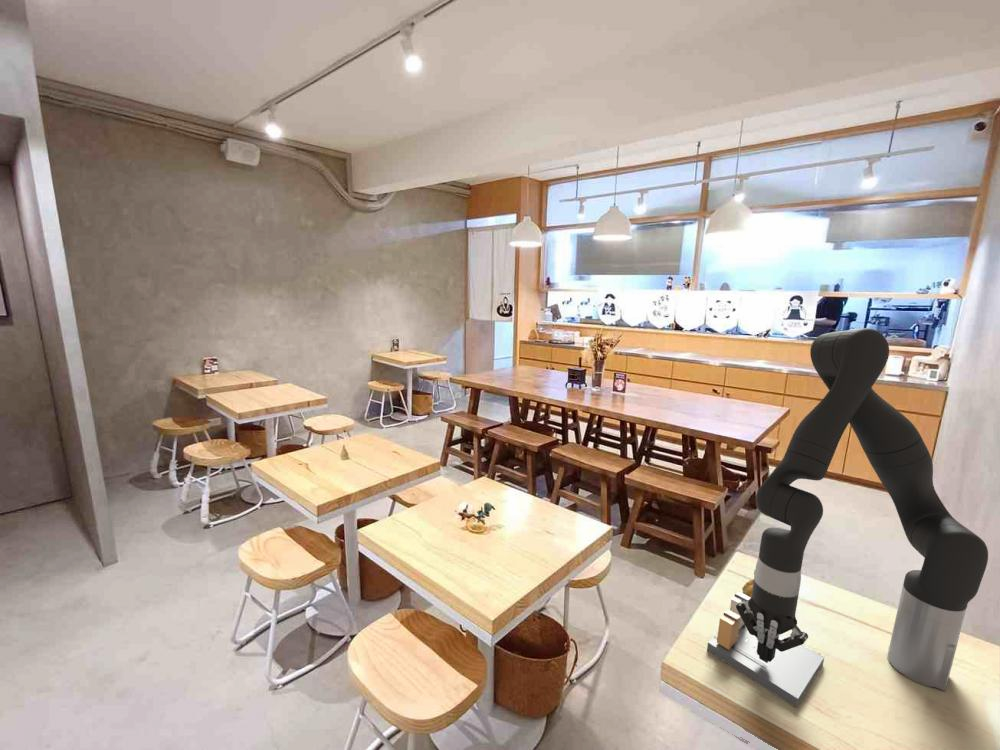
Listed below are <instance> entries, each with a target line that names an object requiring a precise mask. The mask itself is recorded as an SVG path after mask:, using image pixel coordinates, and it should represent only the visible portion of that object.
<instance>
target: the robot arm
mask: <svg viewBox="0 0 1000 750" xmlns="http://www.w3.org/2000/svg"><path fill="white" fill-rule="evenodd" d="M809 353H810V360H811V364H812V366H813V368H814V370H815V371H816V373H817V374H818V376H819V377H820V379H821V380H822V382H823V384H824V385H825V386H826V387H827V389H828V392H827V393H826V394H825V396H824V397H823V398H822V399H821V400H820V401H819V402H818V404H817V405H815V406H814V408H812V410H811V411H809V413H807V415H805V416H804V418H803V419H802V420H801V421H800V422H799V424H798V425H797V427H796V428H795V431H794V433H792V436H791V438H790V440H789V443H788V446H787V449H786V451H785V453H784V456H783V458H782V459H781V460H780V462H779V463H778V464H777V466H776V467H775V468H774V469H773V471H772V472H771V473H770V474H769V476H768V477H766V479H765V480H764V481H763V482H762V484H761V485H760V486H759V488H758V489H757V491H756V495H755V504H756V505H755V506H756V507H757V510H758V511H759V512H760V513H761V514H763V515H765V516H767V517H769V518H771V519H774V520H776V521H778V522H780V523H783V524H785V525H788V526H790V529H786V528H780V527H767V528H766V529H764V530H763V531H762V534H761V539H760V546H759V552H758V558H757V561H756V562H755V563H756V564H755V569H754V572H753V575H754V577H753V579H754V582H753V589H752V597H751V598H750V599H749V600H748V601H747V602H746V601H744V600H742V601H740V602H739V603H738V604H737V605H736V609H737V610H738V612H739V614H740V616H741V618H742V620H743V622H744V624H745V626H746V628H747V630H748V632H749V633H750V634H751V635H754V636H755V637H756V638H757V640H758V645H757V654H758V655H759V659H761V660H763V661H764V662H766V663H768V661H769V662H771V661H772V660H773V658H774V657H775V651H776V649H778V650H779V651H781V652H783V651H786V650H788V649H791V648H794V647H797V646H799V645H805V642H806V641H807V640H808V638H809V635H808V633H807V632H805V631H802V630H801V629H800V628H799V627H798V620H797V618H796V613H797V606H798V599H799V594H800V588H801V582H802V567H803V560H804V554H805V550H806V547H807V545H808V542H809V540H810V539H811V536H812V535H813V533H814V532H815V529H816V528H817V527H818V525H819V523H820V521H821V520H822V518H823V516H824V515H823V514H824V506H823V504H822V501H821V500H820V497H818V496H817V495H816V494H814V493H811V492H809V491H806V490H803V489H801V488H797V487H796V486H792V483H793V482H795V481H797V480H800V479H801V480H808V481H809V480H811V481H822V480H823V479H824V478H825V476H826V474H827V472H828V470H829V467H830V465H831V463H832V460H833V458H834V455H835V453H836V450H837V447H838V445H839V443H840V441H841V438H842V436H843V434H844V432H845V430H846V429H847V427H848V425H850V427H851V428H852V431H853V432H854V434H855V435H856V438H857V440H858V442H859V444H860V446H861V448H862V450H863V452H864V454H865V455H866V458H867V459H868V461H869V464H870V466H871V467H872V469H873V470H874V472H875V473H876V475H877V477H878V479H879V480H880V482H881V484H882V485H883V487H884V489H885V490H886V491H887V493H888V494H889V497H890V498H891V500H892V503H893V504H894V507H895V510H896V512H897V514H898V515H897V516H898V517H899V520H900V523H901V527H902V528H903V531H904V534H905V537H906V538H907V540H908V542H909V544H910V545H911V546H912V548H913V549H915V550H916V551H917V553H919V554H920V555H921V556H922V557H923V558H924V559H923V564H922V566H921V569H920V570H919V569H912V570H909V571H908V572H907V573H905V576H904V579H903V580H904V581H903V584H902V588H901V594H900V598H899V602H898V607H897V609H896V610H897V611H896V616H895V620H894V624H893V629H892V634H891V638H890V642H889V645H888V652H887V655H886V656H887V659H888V661H889V664H890V665H892V667H893V668H894V669H895V670H897V671H898V672H899V673H901V674H902V675H904V677H907V678H908V679H910V680H912V681H914V682H916V683H918V684H920V685H921V684H922V685H924V686H926V687H931V688H937V689H940V690H941V691H943V692H945V691H946V689H947V686H948V682H949V678H950V674H951V671H952V668H953V667H952V666H953V663H954V660H955V659H954V658H955V655H956V651H957V647H958V643H959V640H960V635H961V630H962V626H963V623H964V618H965V615H966V611H967V608H968V605H969V602H970V601H972V600H973V599H974V598H975V597H976V595H978V594H977V593H978V592H979V588H980V586H981V584H982V580H983V577H984V574H985V571H986V570H987V565H988V560H989V550H988V546H987V544H986V543H985V541H984V540H983V539H982V538H981V537H979V535H977V534H975V532H973V531H972V530H970V529H969V528H968V527H966V526H965V525H963V524H961V522H959V521H957V519H956V518H955V517H953V516H952V514H951V513H950V512H949V511H948V509H947V507H946V506H945V505H944V503H943V501H942V500H941V498H940V497H939V495H938V493H937V492H936V489H935V487H934V481H933V480H934V479H933V477H934V464H933V460H932V456H931V454H930V452H929V449H928V447H927V445H926V443H925V441H924V439H923V437H922V436H921V434H920V432H919V431H918V429H917V427H916V426H915V424H913V422H912V421H911V420H910V419H908V418H907V417H906V416H905V415H904V414H903V413H901V412H900V411H899V410H898V409H896V408H895V407H894V406H893V405H892V404H891V403H889V402H887V401H886V400H885V399H884V398H882V396H880V395H879V394H878V393H877V392H876V391H875V390H874V389H873V388H872V387H873V386H874V384H875V383H876V381H877V380H878V379H879V377H880V375H881V374H882V372H883V371H884V369H885V367H886V365H887V363H888V360H889V356H890V345H889V343H888V340H887V338H886V336H884V335H883V333H881V332H880V331H878V330H876V329H873V328H870V327H869V328H867V327H865V328H852V329H847V330H838V331H837V330H836V331H832V332H827V333H823V334H820V335H818V336H817V337H816V338H814V339H813V342H812V343H811V346H810V351H809ZM790 631H791V633H790V636H787V638H785V639H782V640H779V635H780V634H783V635H784V634H785V633H787V632H790Z"/></svg>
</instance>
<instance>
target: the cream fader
mask: <svg viewBox="0 0 1000 750" xmlns="http://www.w3.org/2000/svg"><path fill="white" fill-rule="evenodd" d="M750 598H751V597H749V596H747V595H745V594H744V592H740V591H738V592H735V593H734V596H733V597H731V600H730V606H729V610H730V611H732V612H734V613H736V614H737V615H739V616H740V614H739V612H738V610H737V609H736V605H737V604H738V603H739V602H740V601H742V600H744V601H746V602H747V601H748V600H749V599H750ZM743 625H744V622H743V620H742V618H741V617H740V624H739V629H740V628H741V627H742V626H743Z"/></svg>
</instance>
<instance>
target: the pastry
mask: <svg viewBox="0 0 1000 750" xmlns="http://www.w3.org/2000/svg"><path fill="white" fill-rule="evenodd" d="M753 582H754V578H753V579H749V581H747V582H745V584H744V585H743V586H742V593H743V594H745V595H747V596H749V597H752V589H753Z"/></svg>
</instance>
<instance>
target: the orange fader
mask: <svg viewBox="0 0 1000 750" xmlns="http://www.w3.org/2000/svg"><path fill="white" fill-rule="evenodd" d="M740 617H741V616H739V615H737V614H736V613H734V612H732V611H730V609H728V610H726V611H723V614H722V615H721V616H720V617H719V622H718V623H719V624H718V631H717V633H718V637H717V643H718V644H720V645H722V646H723V647H725V648H727V649H728V650H729V649H730V648H731V647H732V646H733V645H734V643H735V642H736V641H737V637H738V631H739V624H740Z"/></svg>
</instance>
